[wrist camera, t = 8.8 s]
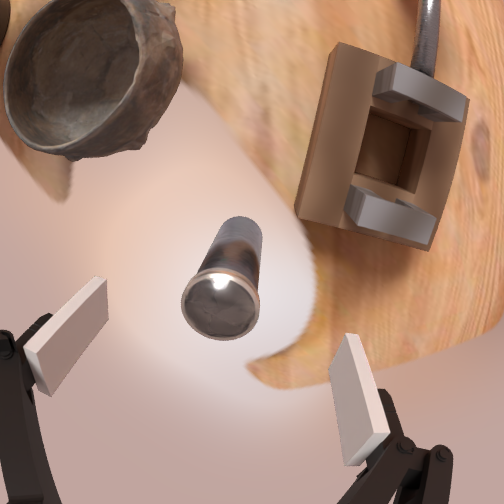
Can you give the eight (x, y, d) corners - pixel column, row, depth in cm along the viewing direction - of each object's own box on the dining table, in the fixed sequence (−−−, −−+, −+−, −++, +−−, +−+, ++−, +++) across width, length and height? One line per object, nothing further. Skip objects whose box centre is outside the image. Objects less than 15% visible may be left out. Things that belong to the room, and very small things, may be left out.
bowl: (172, 167, 26) (121, 188, 16) (47, 134, 25) (-22, 146, 15) (221, 23, 20) (196, -28, 11) (83, 12, 19) (24, -14, 10)
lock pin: (378, 97, 20) (417, 87, 13) (399, -54, 13) (426, -87, 7) (416, 112, 20) (462, 110, 13) (431, -38, 13) (464, -66, 7)
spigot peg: (213, 254, 28) (178, 331, 17) (220, 209, 27) (184, 265, 16) (258, 264, 29) (250, 347, 17) (269, 219, 27) (267, 283, 16)
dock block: (293, 205, 26) (303, 236, 19) (329, 54, 21) (352, 24, 13) (410, 236, 27) (451, 272, 19) (446, 101, 21) (498, 98, 14)
